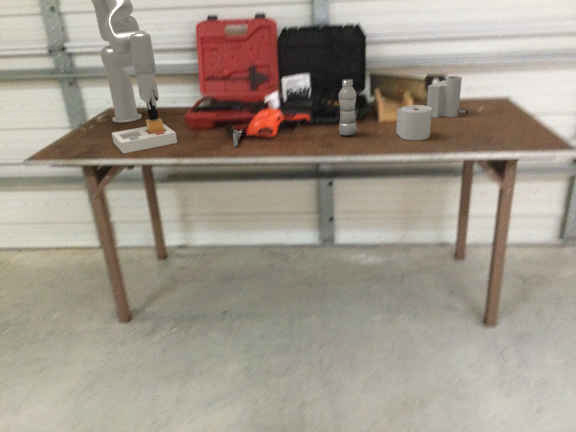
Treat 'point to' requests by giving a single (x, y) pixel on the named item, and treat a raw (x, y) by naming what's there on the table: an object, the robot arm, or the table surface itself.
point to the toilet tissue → (414, 122)
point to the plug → (154, 125)
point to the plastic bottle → (347, 108)
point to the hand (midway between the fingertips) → (153, 119)
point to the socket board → (142, 139)
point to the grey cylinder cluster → (445, 97)
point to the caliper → (236, 137)
